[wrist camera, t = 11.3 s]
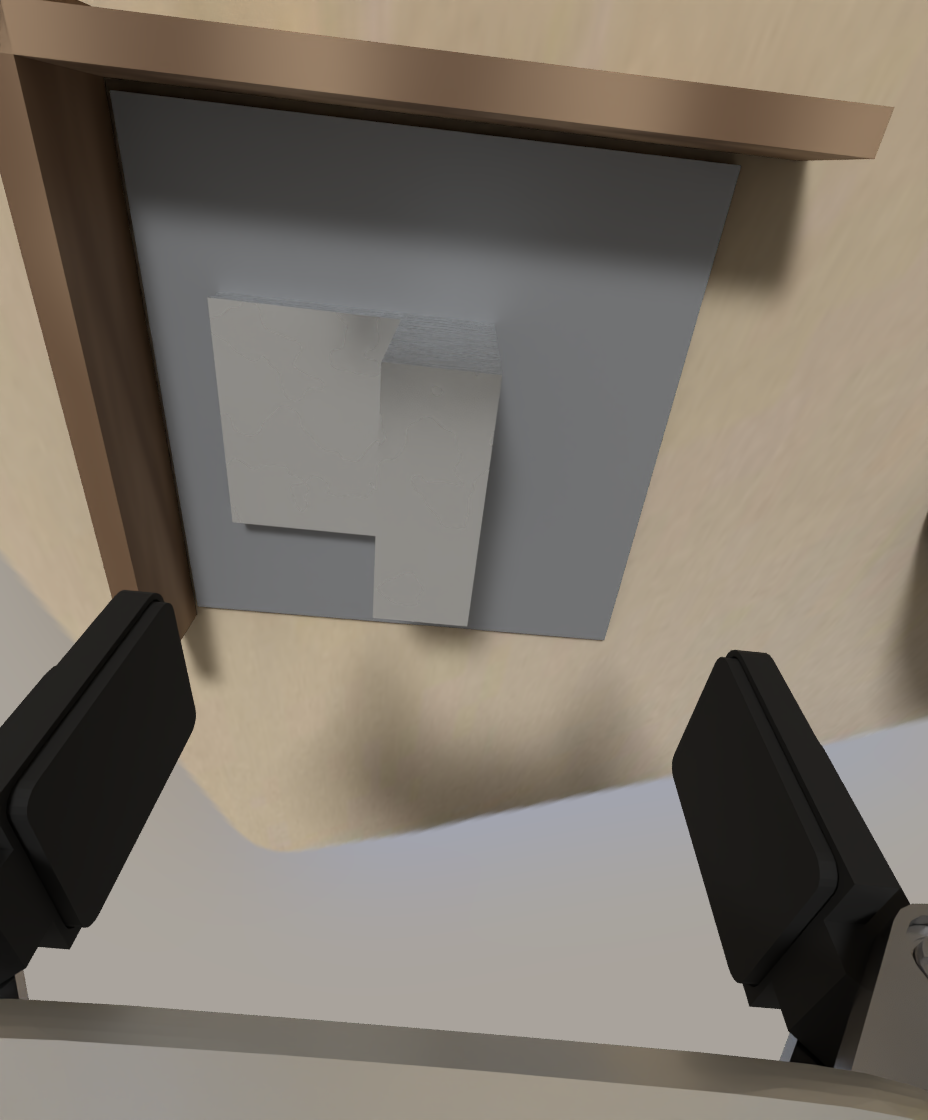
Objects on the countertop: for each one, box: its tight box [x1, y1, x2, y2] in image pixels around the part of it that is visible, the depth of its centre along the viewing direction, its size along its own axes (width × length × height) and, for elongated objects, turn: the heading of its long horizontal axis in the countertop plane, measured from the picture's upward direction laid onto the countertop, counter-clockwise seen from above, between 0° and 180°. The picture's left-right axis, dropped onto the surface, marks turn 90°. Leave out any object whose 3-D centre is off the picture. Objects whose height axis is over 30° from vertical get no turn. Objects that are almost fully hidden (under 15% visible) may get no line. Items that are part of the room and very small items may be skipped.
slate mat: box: [110, 90, 741, 640], centre depth 22 cm, size 18×18×1 cm
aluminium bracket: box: [207, 292, 502, 626], centre depth 20 cm, size 8×9×6 cm
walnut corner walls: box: [0, 0, 894, 640], centre depth 21 cm, size 21×21×4 cm
